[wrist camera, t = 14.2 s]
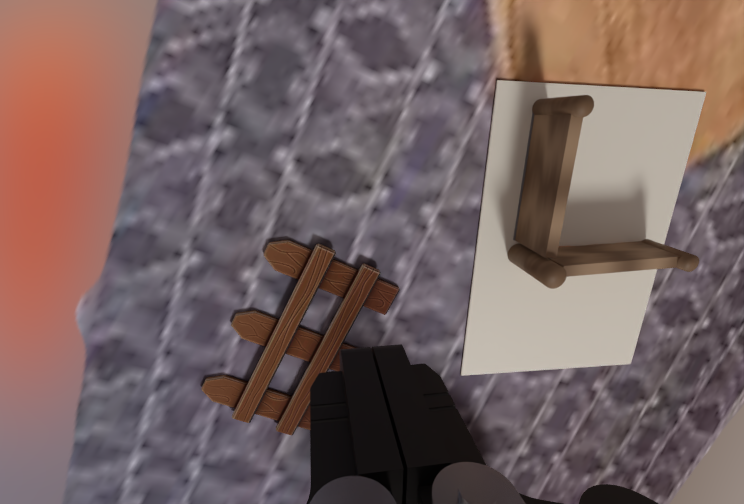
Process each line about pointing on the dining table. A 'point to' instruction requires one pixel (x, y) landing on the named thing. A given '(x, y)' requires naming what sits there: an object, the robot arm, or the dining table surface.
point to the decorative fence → (299, 333)
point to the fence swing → (622, 258)
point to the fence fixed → (548, 185)
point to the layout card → (575, 227)
